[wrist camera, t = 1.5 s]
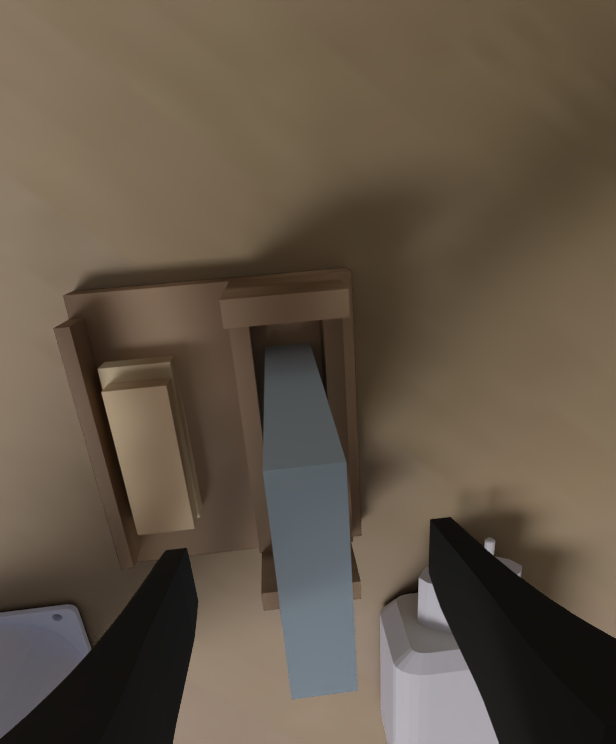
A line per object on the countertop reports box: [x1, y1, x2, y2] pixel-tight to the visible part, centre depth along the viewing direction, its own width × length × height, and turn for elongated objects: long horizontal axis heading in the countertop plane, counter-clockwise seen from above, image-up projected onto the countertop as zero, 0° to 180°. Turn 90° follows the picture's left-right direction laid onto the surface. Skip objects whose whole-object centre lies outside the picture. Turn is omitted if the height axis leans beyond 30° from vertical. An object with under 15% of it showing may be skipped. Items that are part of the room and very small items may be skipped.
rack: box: [53, 268, 362, 611], centre depth 20 cm, size 12×14×5 cm
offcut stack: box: [98, 355, 202, 535], centre depth 20 cm, size 3×8×2 cm, turn 4°
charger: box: [380, 537, 522, 744], centre depth 26 cm, size 5×9×15 cm
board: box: [263, 343, 358, 699], centre depth 17 cm, size 2×8×10 cm, turn 4°
